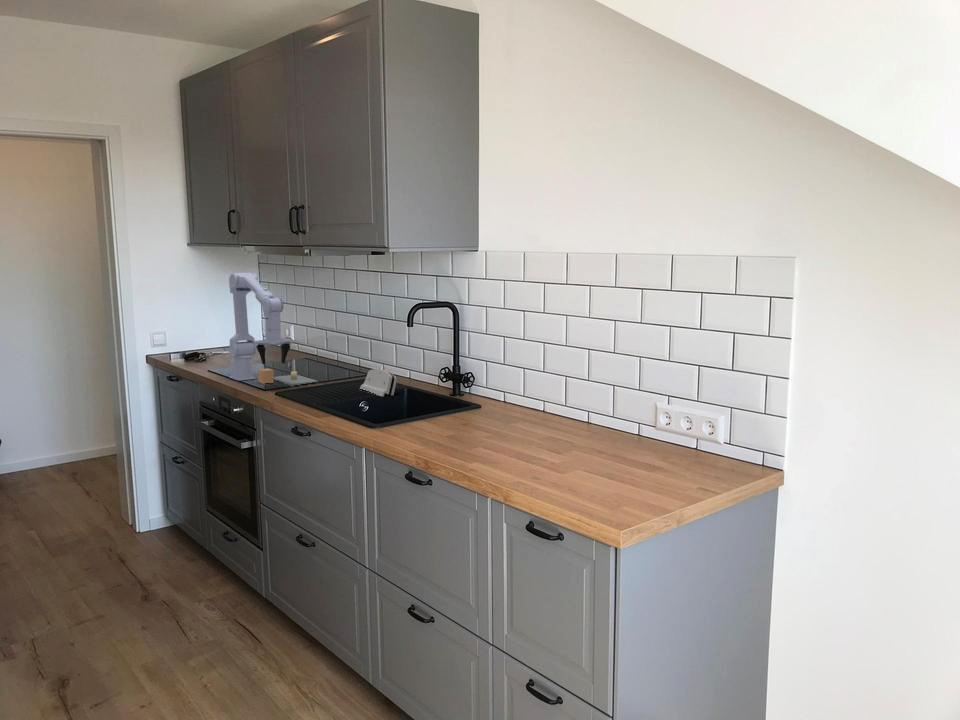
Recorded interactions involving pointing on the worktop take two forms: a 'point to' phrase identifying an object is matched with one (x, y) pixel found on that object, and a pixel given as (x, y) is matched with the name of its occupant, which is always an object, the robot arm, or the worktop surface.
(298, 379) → the board
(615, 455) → the worktop surface
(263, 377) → the tan wooden cube
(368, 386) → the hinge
